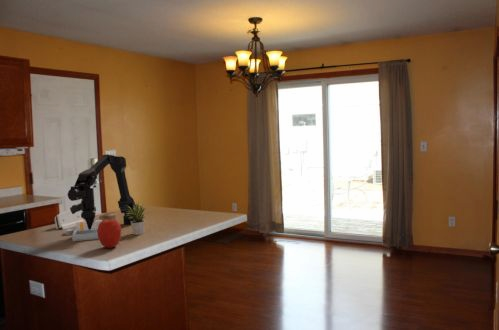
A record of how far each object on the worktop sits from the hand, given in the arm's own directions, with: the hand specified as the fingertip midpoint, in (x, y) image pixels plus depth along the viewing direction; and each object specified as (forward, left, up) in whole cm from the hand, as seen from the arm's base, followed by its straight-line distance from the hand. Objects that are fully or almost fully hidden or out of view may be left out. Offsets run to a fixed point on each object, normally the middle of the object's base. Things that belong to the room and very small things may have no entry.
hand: (89, 228), depth 206 cm
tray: (-1, 0, -4) cm, 4 cm away
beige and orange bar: (0, 0, 0) cm, 0 cm away
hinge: (+12, -35, -5) cm, 38 cm away
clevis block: (0, -13, -4) cm, 14 cm away
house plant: (-22, +2, -5) cm, 23 cm away
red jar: (-9, +26, -5) cm, 28 cm away
